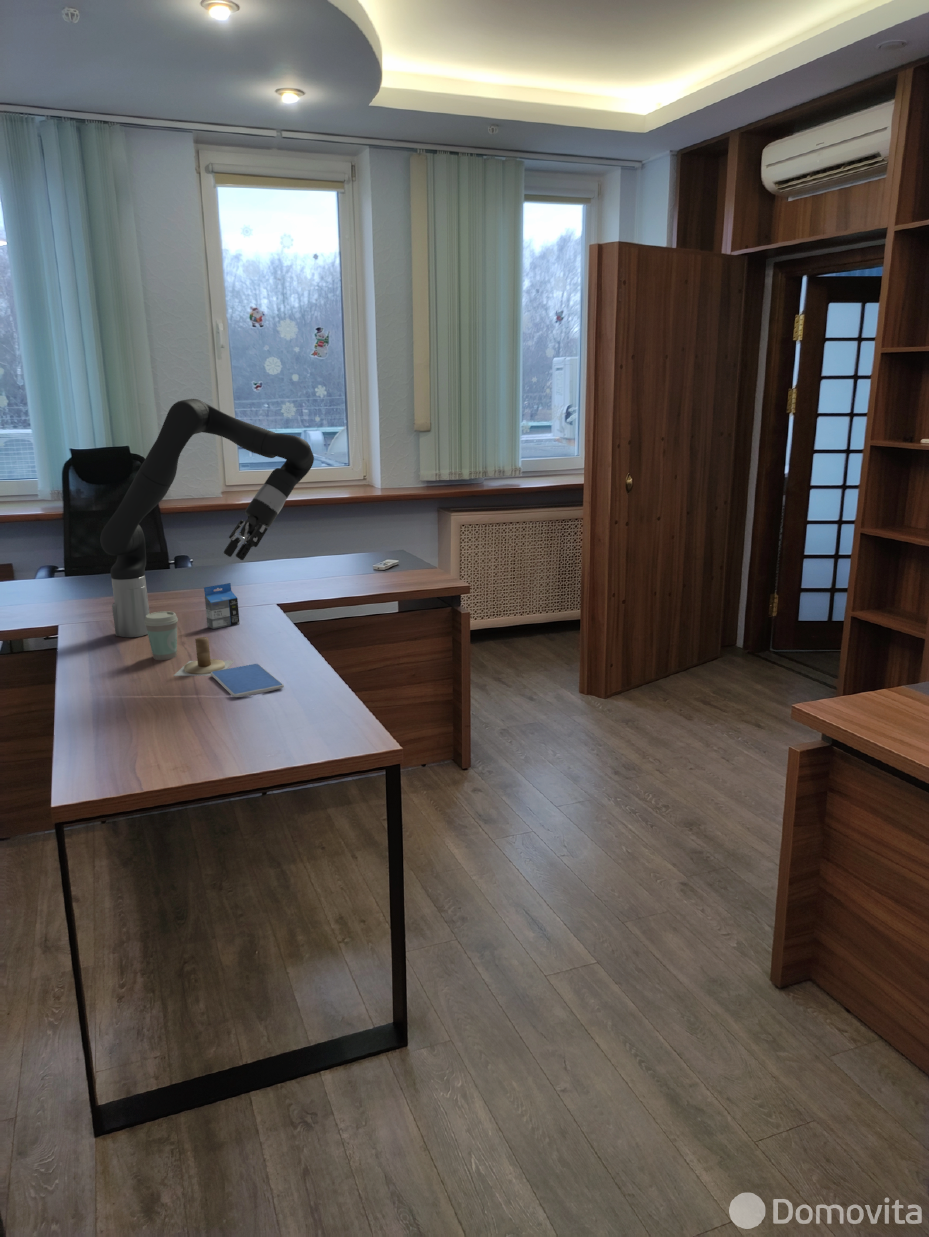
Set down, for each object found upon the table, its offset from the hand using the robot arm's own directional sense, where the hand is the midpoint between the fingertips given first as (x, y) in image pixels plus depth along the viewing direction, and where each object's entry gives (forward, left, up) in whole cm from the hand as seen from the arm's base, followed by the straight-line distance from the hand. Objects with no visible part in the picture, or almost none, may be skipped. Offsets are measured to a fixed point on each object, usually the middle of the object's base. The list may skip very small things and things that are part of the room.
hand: (232, 556), depth 229 cm
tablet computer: (+8, -22, -27) cm, 36 cm away
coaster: (-6, -11, -27) cm, 30 cm away
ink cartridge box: (-14, +31, -27) cm, 44 cm away
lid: (-6, -11, -27) cm, 30 cm away
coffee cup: (-20, -1, -27) cm, 34 cm away
